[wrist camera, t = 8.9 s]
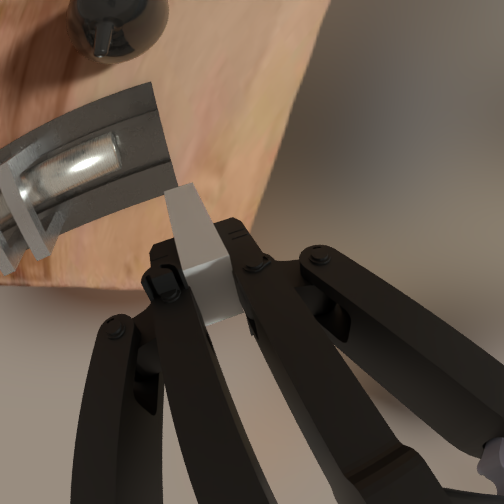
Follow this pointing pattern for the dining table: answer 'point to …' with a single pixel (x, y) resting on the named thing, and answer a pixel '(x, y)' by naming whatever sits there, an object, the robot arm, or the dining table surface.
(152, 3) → the black tall rounded dome
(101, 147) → the tube
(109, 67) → the dining table surface
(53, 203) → the twin arch cradle
